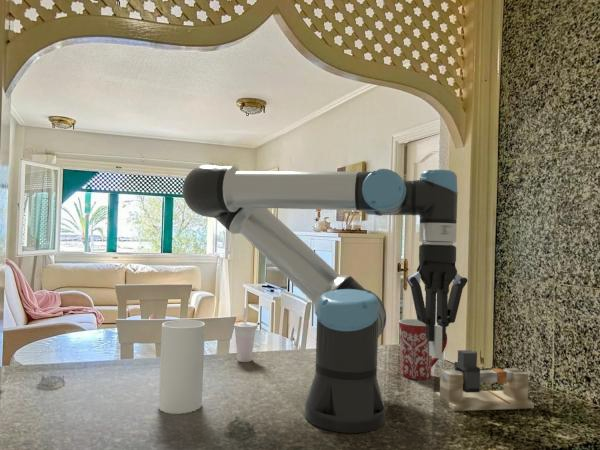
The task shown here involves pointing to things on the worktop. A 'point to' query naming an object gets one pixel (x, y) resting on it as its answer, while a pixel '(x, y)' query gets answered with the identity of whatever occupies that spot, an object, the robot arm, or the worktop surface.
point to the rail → (507, 398)
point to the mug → (415, 350)
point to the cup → (181, 366)
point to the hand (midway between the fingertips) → (435, 356)
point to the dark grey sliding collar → (469, 370)
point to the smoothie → (245, 339)
